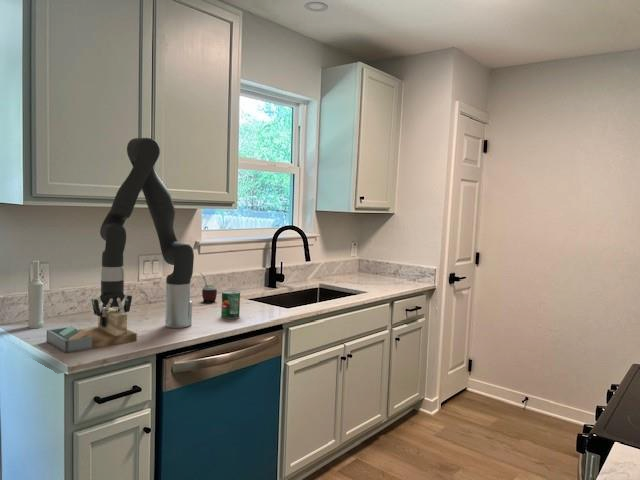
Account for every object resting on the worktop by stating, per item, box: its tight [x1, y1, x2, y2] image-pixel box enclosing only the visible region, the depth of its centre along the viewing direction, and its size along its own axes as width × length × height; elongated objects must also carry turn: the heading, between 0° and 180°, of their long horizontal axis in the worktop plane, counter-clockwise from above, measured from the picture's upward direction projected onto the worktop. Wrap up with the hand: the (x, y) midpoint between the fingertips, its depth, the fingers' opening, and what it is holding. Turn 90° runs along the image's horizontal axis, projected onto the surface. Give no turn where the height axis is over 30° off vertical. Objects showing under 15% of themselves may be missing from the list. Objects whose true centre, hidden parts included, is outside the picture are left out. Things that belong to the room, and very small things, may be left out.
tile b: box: [69, 331, 88, 340], centre depth 165 cm, size 4×4×2 cm
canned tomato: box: [220, 289, 241, 320], centre depth 217 cm, size 8×8×11 cm
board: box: [77, 326, 138, 349], centre depth 175 cm, size 16×17×2 cm
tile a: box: [59, 325, 78, 340], centre depth 171 cm, size 4×4×2 cm
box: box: [46, 326, 93, 354], centre depth 167 cm, size 8×17×4 cm, turn 47°
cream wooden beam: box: [97, 307, 128, 336], centre depth 177 cm, size 4×14×7 cm, turn 47°
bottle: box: [27, 260, 45, 329], centre depth 186 cm, size 5×5×25 cm
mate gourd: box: [199, 272, 218, 304], centre depth 245 cm, size 8×8×15 cm
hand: (112, 325), depth 177 cm, fingers open, 5 cm apart
